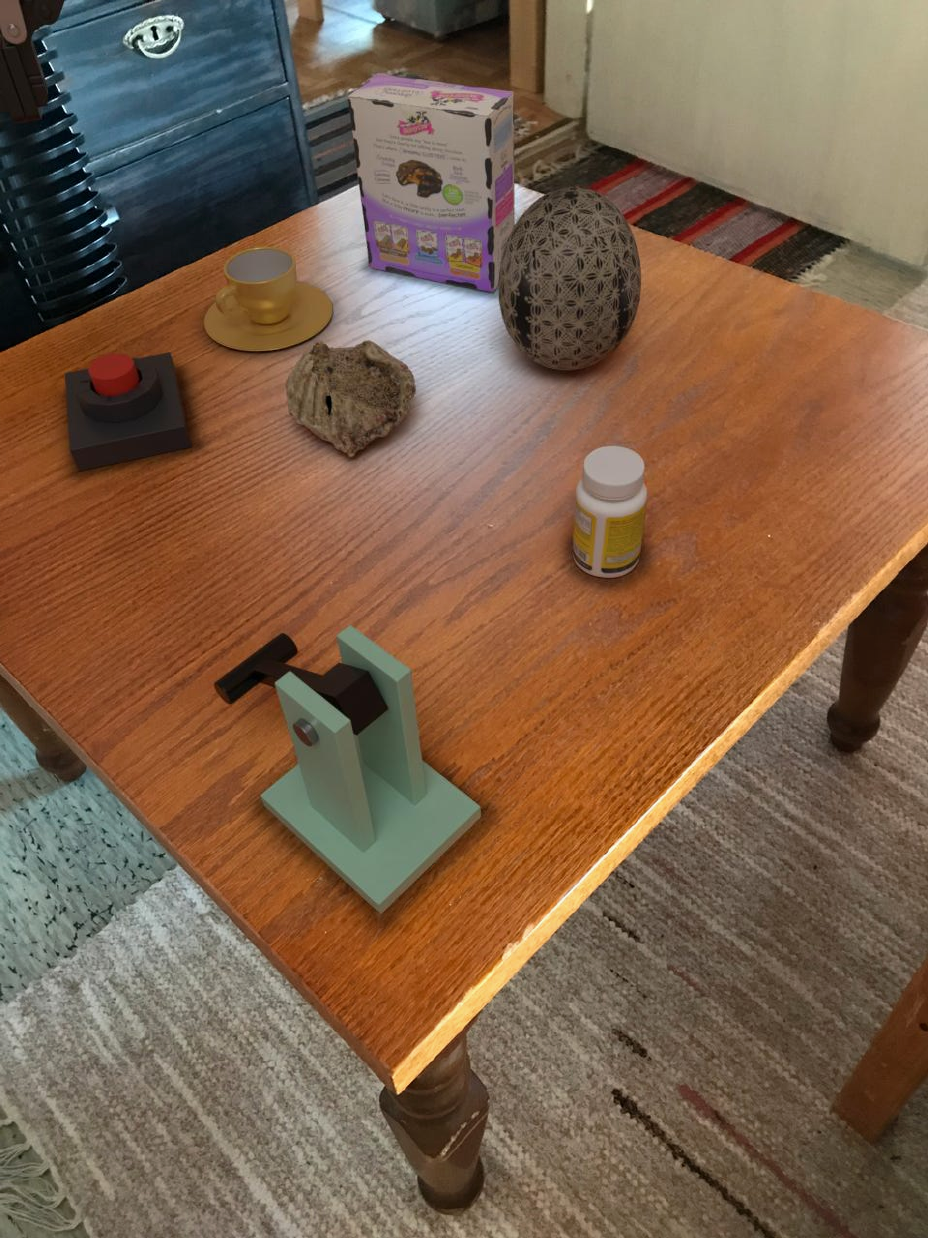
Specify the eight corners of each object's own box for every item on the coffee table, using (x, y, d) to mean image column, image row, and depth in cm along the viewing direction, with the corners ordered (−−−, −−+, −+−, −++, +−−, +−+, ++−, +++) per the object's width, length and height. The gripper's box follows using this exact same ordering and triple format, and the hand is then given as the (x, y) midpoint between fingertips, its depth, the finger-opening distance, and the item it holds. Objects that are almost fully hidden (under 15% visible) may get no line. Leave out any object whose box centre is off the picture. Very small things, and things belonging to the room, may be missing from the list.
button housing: (191, 447, 80) (179, 407, 77) (78, 471, 78) (61, 431, 75) (176, 372, 87) (164, 333, 84) (73, 394, 85) (56, 354, 82)
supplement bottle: (647, 543, 71) (660, 451, 64) (627, 587, 68) (639, 496, 62) (584, 526, 72) (591, 434, 66) (562, 569, 69) (567, 477, 63)
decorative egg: (660, 356, 86) (683, 187, 75) (572, 418, 81) (581, 245, 69) (560, 308, 92) (566, 143, 80) (471, 362, 86) (465, 194, 75)
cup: (280, 271, 98) (270, 218, 94) (359, 315, 92) (352, 261, 88) (179, 321, 92) (164, 267, 88) (257, 371, 87) (244, 316, 83)
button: (141, 391, 79) (135, 373, 78) (96, 401, 79) (89, 382, 77) (137, 367, 81) (131, 349, 80) (93, 376, 81) (86, 358, 80)
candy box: (517, 266, 97) (517, 88, 84) (492, 295, 93) (489, 115, 81) (393, 240, 101) (377, 67, 89) (366, 268, 98) (344, 92, 85)
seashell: (334, 495, 80) (441, 436, 78) (285, 444, 74) (399, 379, 72) (311, 404, 86) (409, 347, 84) (265, 351, 81) (369, 289, 78)
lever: (226, 708, 57) (205, 675, 56) (292, 657, 59) (274, 625, 58) (335, 754, 47) (312, 715, 46) (409, 691, 49) (389, 653, 48)
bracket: (263, 806, 58) (213, 670, 48) (363, 722, 61) (335, 581, 52) (380, 915, 53) (351, 789, 43) (481, 817, 57) (475, 681, 47)
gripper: (-326, -304, 37) (-106, 165, 50) (39, -333, 39) (158, 123, 52) (-288, -324, 41) (-96, 109, 54) (36, -349, 44) (145, 72, 57)
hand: (28, 115), depth 53 cm, fingers closed
